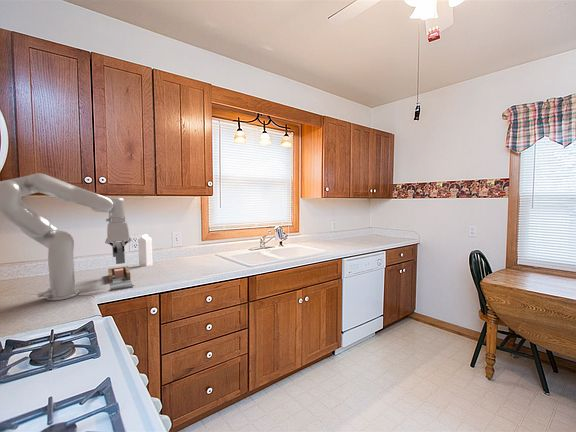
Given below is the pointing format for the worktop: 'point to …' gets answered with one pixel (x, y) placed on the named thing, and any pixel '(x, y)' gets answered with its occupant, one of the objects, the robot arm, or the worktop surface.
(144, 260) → the milk
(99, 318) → the worktop surface
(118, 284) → the cubby
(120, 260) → the grey long bar
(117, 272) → the cube
